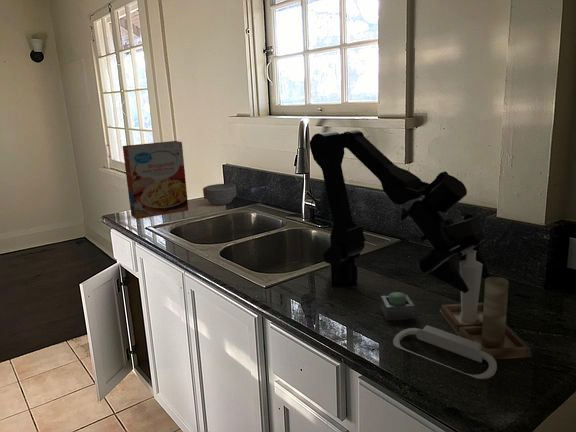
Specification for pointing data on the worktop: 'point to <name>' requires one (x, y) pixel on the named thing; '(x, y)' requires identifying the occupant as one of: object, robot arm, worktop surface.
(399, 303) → the button
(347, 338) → the worktop surface
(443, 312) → the divided wooden tray
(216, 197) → the paper bowls
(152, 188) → the pasta box
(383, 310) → the button housing
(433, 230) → the robot arm
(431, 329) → the oval loop handle
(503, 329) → the wooden billet
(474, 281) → the perfume bottle
